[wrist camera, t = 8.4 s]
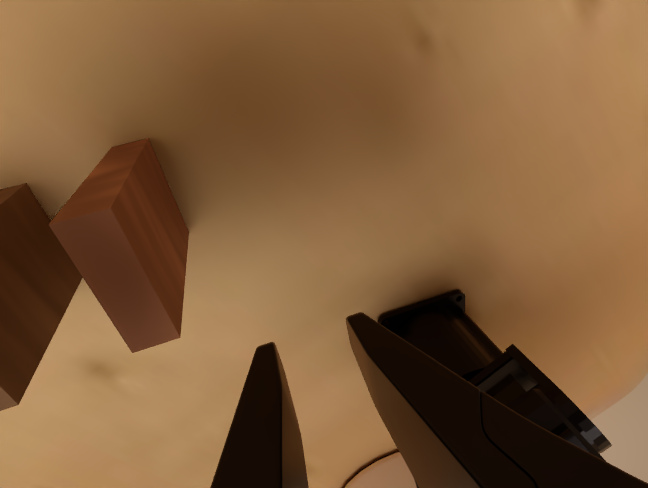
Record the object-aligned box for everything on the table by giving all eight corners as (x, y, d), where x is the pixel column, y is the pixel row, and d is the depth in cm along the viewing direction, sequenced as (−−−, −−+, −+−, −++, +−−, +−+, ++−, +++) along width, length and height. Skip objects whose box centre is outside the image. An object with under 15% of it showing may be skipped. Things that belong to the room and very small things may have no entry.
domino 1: (26, 183, 16) (-99, 287, 10) (84, 273, 19) (18, 404, 12) (-14, 193, 16) (-169, 306, 9) (51, 283, 19) (-34, 421, 12)
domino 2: (148, 138, 17) (110, 208, 10) (188, 232, 19) (180, 337, 13) (111, 147, 17) (48, 224, 10) (157, 241, 19) (132, 352, 13)
